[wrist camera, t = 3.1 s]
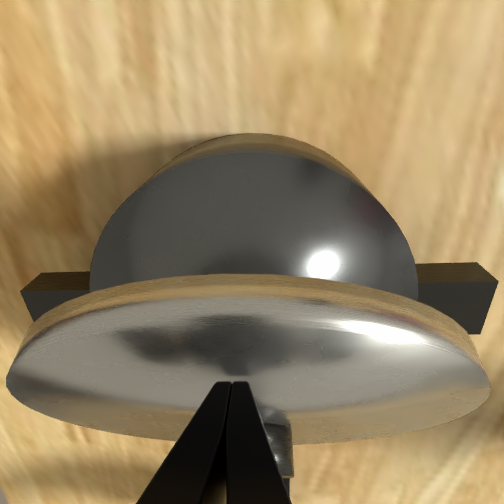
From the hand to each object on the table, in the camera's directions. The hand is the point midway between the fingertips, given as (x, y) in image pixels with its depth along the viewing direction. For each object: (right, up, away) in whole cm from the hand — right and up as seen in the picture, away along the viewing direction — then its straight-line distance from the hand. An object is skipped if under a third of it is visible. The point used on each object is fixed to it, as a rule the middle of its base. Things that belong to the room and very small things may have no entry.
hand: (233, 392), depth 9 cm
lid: (0, -2, +5) cm, 5 cm away
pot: (+1, +3, +13) cm, 13 cm away
